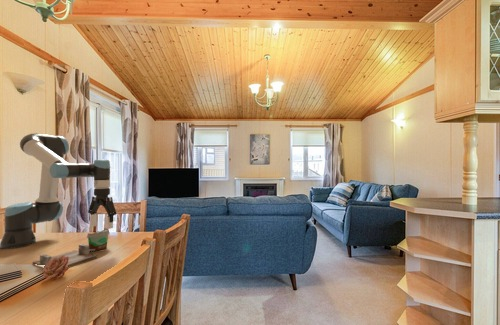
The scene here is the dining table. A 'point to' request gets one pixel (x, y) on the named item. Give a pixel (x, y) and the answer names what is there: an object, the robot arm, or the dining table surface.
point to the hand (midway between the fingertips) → (101, 227)
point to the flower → (56, 267)
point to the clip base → (70, 256)
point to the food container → (98, 240)
